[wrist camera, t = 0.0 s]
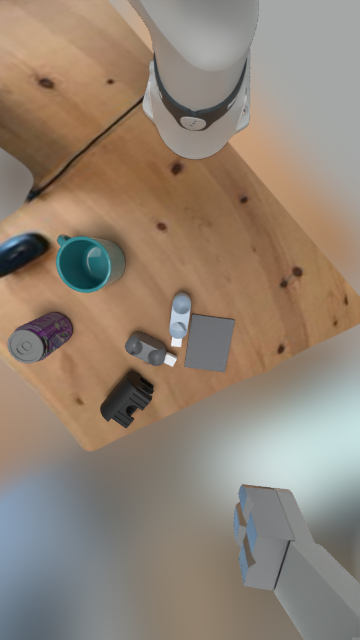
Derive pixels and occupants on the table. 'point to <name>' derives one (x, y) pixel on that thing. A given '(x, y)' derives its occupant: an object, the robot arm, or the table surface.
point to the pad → (209, 342)
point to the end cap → (127, 399)
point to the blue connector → (179, 318)
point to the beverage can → (39, 337)
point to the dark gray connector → (149, 349)
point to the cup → (89, 262)
